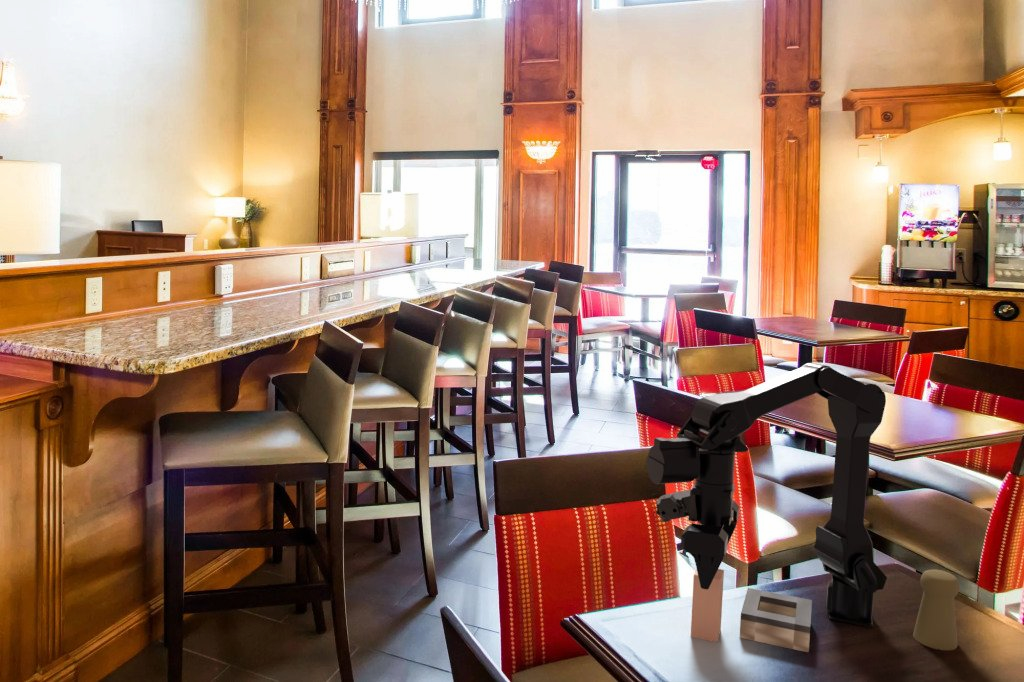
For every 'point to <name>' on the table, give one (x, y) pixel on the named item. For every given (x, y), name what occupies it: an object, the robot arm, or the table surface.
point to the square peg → (707, 608)
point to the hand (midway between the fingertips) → (709, 577)
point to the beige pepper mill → (937, 611)
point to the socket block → (776, 619)
